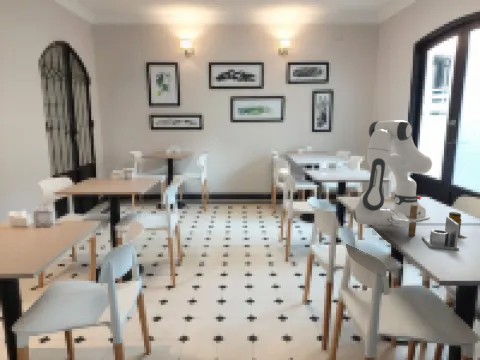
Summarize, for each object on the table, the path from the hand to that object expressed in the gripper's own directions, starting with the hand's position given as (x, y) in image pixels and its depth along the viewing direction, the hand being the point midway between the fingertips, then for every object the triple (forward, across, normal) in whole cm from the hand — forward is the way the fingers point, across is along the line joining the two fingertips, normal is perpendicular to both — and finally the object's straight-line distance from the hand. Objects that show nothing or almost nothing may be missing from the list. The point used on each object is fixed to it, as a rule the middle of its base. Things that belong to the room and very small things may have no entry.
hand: (414, 219), depth 182 cm
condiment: (+21, +6, +9) cm, 24 cm away
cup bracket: (+9, -11, +9) cm, 16 cm away
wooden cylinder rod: (-1, 0, +9) cm, 9 cm away
